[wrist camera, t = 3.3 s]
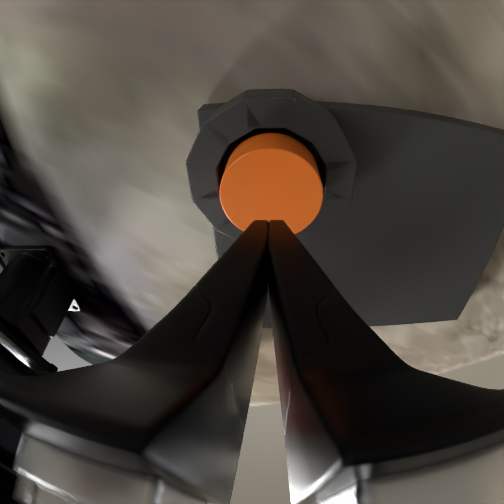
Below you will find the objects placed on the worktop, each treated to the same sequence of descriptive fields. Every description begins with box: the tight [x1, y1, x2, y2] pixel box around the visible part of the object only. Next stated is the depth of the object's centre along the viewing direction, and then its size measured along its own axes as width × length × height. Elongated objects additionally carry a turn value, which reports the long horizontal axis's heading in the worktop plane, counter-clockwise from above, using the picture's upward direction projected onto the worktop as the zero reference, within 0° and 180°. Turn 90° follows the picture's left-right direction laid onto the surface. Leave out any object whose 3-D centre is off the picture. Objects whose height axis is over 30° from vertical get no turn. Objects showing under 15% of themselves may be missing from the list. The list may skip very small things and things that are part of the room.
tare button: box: [219, 133, 323, 234], centre depth 11 cm, size 4×4×2 cm
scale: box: [186, 89, 504, 328], centre depth 15 cm, size 17×15×3 cm
